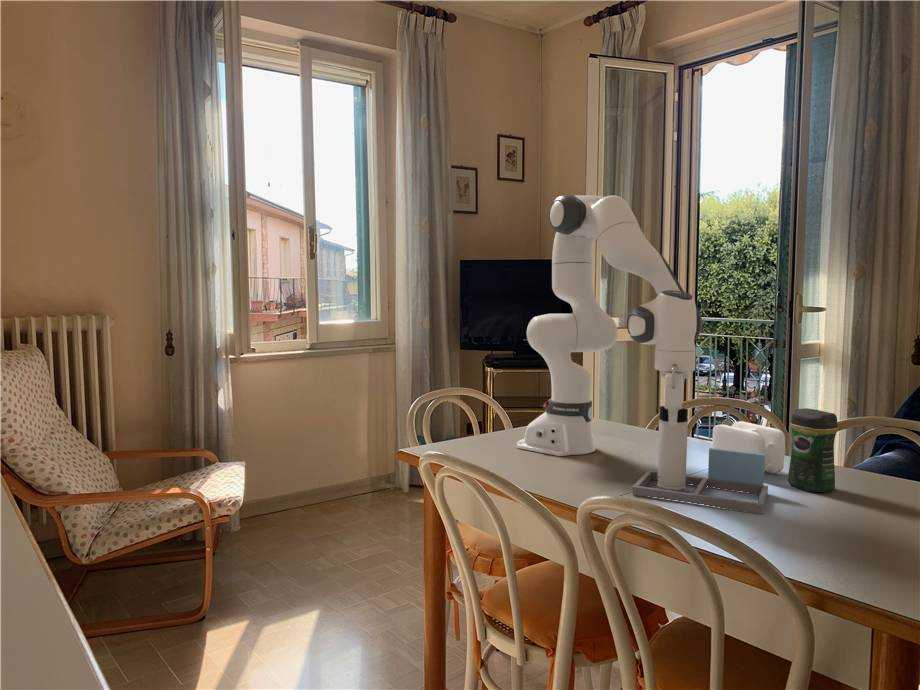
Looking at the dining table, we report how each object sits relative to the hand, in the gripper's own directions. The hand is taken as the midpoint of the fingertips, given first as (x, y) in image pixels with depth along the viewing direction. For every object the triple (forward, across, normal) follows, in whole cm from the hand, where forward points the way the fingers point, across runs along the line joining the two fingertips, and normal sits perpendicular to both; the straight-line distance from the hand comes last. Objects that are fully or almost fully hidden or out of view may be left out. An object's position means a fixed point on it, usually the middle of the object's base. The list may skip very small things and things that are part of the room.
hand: (672, 422), depth 158 cm
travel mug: (+16, 0, 0) cm, 16 cm away
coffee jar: (+16, +13, -31) cm, 37 cm away
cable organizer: (+16, +23, -18) cm, 34 cm away
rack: (+16, -1, -6) cm, 17 cm away
